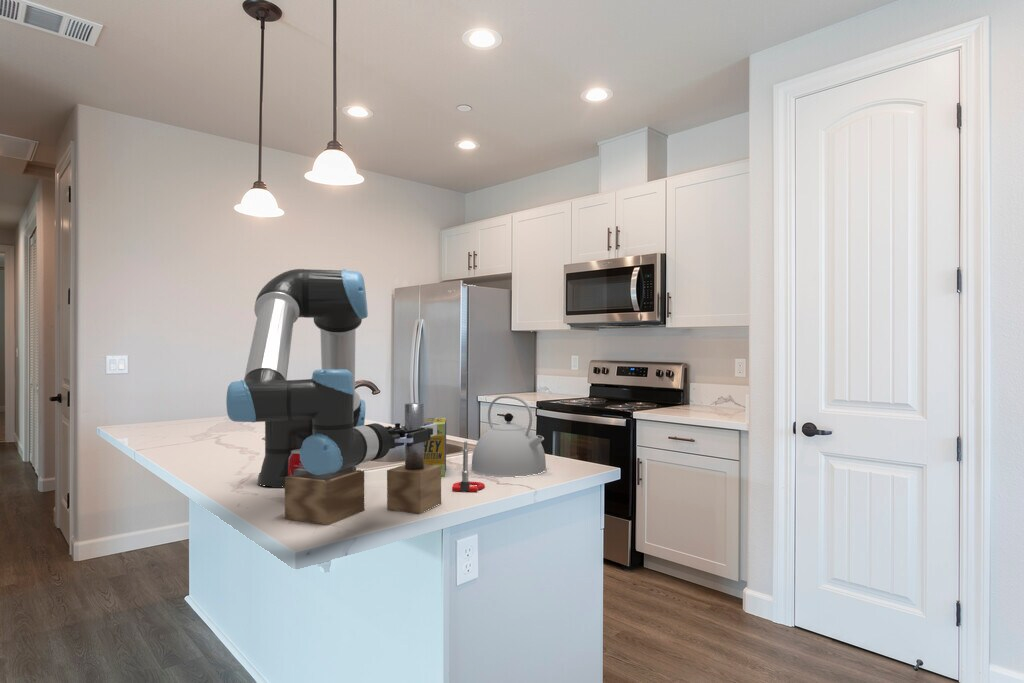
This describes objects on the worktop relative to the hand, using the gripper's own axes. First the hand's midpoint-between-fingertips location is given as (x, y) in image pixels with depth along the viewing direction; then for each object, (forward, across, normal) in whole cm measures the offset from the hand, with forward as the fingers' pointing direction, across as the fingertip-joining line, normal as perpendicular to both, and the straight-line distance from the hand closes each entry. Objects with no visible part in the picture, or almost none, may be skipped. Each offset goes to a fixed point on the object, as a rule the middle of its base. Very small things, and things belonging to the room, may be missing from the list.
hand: (426, 428), depth 142 cm
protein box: (+28, -17, -18) cm, 37 cm away
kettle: (+41, +4, -18) cm, 45 cm away
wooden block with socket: (-18, -15, -18) cm, 29 cm away
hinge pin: (-5, 0, -8) cm, 10 cm away
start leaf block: (-5, 0, -18) cm, 18 cm away
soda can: (-10, -29, -18) cm, 36 cm away
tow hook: (+16, +3, -18) cm, 24 cm away
